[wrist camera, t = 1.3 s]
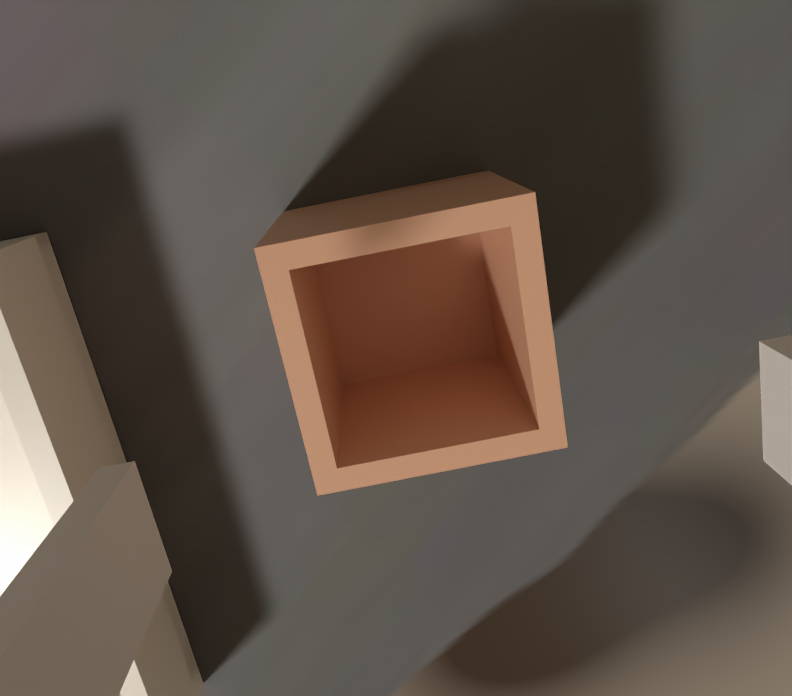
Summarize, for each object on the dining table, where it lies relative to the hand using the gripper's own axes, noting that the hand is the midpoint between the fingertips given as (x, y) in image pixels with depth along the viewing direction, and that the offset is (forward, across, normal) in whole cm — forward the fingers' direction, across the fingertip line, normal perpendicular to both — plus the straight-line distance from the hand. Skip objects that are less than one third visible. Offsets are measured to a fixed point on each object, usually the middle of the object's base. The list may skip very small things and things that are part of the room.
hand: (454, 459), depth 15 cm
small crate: (+15, 0, 0) cm, 15 cm away
